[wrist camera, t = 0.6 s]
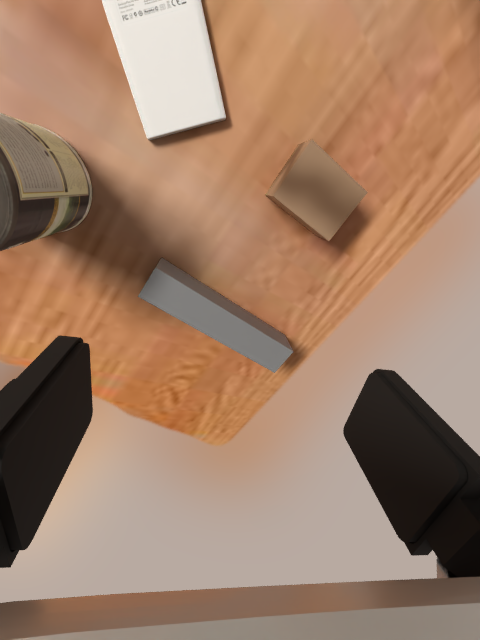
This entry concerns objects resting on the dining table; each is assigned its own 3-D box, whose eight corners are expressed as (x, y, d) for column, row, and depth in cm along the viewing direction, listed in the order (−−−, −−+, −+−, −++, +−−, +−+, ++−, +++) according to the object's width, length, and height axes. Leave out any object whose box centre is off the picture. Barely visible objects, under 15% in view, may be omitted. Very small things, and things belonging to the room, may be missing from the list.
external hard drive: (149, 141, 29) (93, -30, 23) (225, 120, 29) (187, -56, 23) (146, 139, 27) (86, -44, 22) (226, 117, 27) (186, -73, 22)
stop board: (161, 257, 33) (155, 267, 29) (284, 334, 40) (293, 351, 36) (145, 283, 35) (137, 296, 31) (268, 354, 41) (274, 372, 37)
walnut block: (297, 145, 30) (311, 138, 26) (347, 191, 33) (367, 192, 29) (264, 194, 32) (273, 196, 28) (314, 234, 34) (329, 241, 30)
